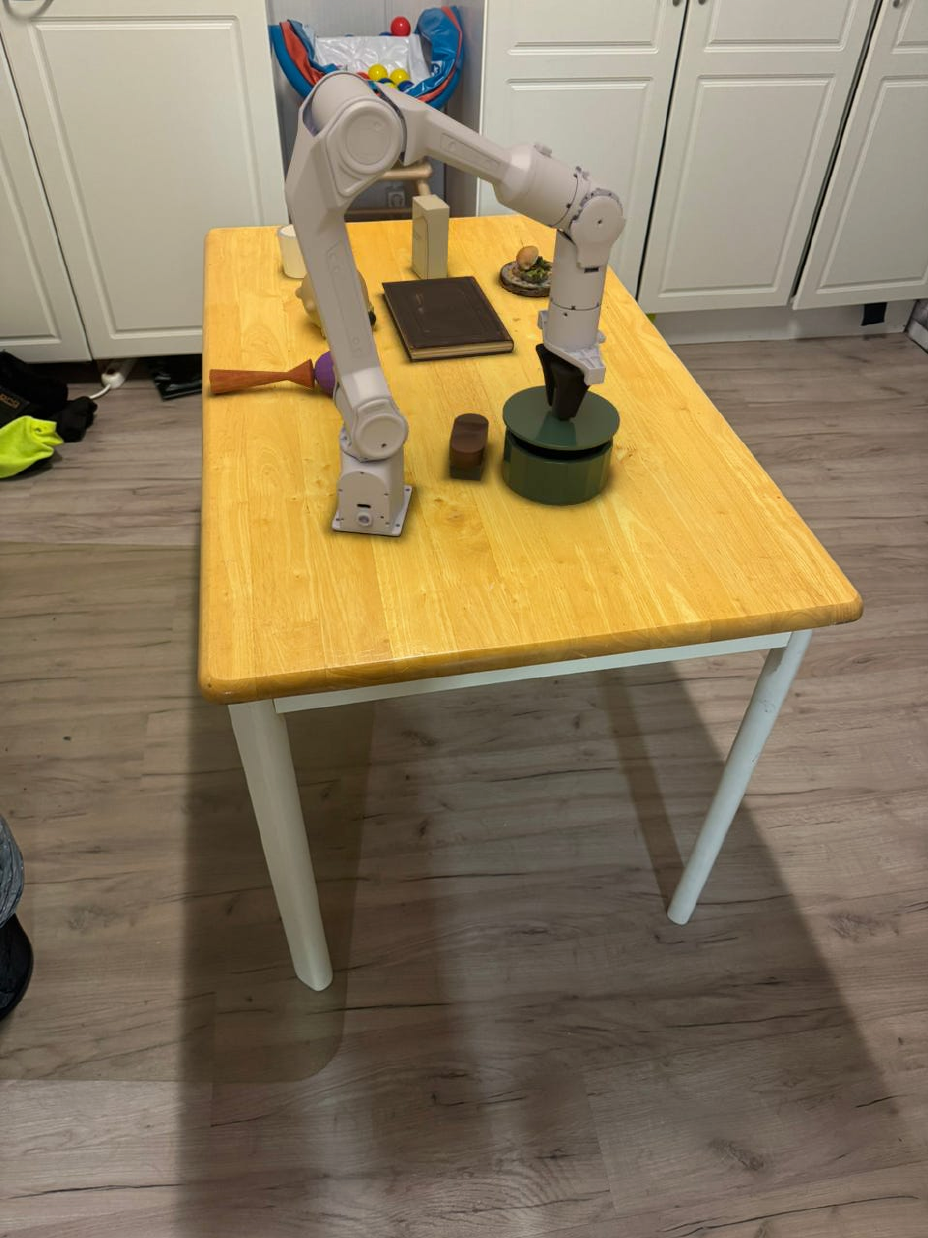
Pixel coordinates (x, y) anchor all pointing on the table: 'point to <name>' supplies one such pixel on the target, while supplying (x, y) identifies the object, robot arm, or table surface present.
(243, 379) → the kendama
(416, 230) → the cosmetic box
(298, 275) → the cream tapered cylinder
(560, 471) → the pot
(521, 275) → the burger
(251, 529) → the table surface
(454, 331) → the hardcover book
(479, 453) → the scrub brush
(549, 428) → the lid
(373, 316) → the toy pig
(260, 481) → the table surface
